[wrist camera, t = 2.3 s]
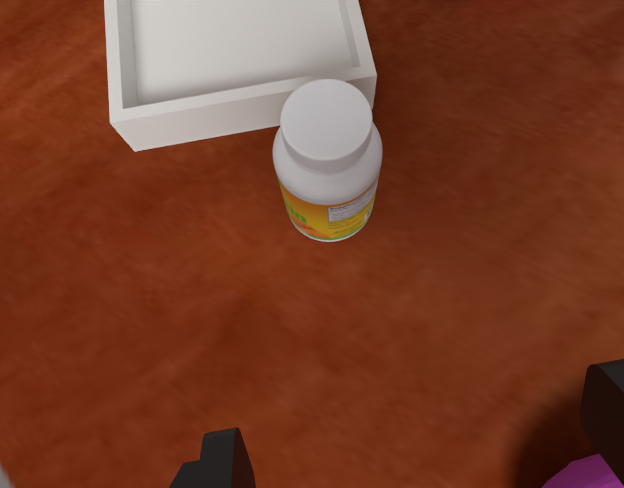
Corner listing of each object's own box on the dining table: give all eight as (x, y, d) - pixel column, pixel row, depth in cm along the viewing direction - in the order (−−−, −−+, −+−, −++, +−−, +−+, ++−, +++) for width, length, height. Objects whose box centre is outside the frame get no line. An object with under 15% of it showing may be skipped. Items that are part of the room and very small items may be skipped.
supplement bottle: (272, 185, 30) (242, 94, 20) (347, 150, 30) (352, 45, 21) (309, 258, 28) (295, 196, 19) (388, 220, 29) (412, 140, 19)
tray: (329, -71, 36) (328, -119, 32) (372, 108, 31) (376, 75, 28) (122, -34, 36) (100, -78, 32) (134, 151, 31) (110, 123, 28)
